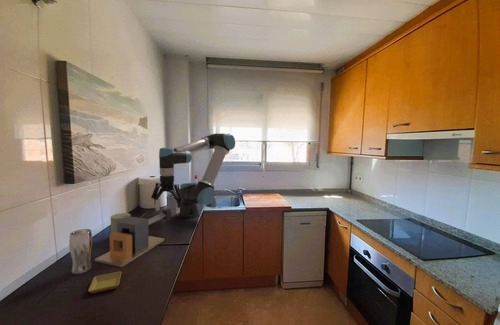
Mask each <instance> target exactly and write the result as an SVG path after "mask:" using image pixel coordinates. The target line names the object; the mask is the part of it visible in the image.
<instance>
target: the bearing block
mask: <svg viewBox="0 0 500 325" xmlns="http://www.w3.org/2000/svg"><path fill="white" fill-rule="evenodd" d="M148 219H149V218H143V217H136V216H130V217H129V218H126V219H124V220H121V221H119V222H117V232H119V233H125V234H131V235H132V255H131V256H129V257H127V258H124V257H120V256H115V255H110V250H109V251H108V252H106V253H104V254H102V255H99V256H98V257H96V258H94V261H95V262H97V263H100V264H105V265H110V266H114V267H118V268H122V267H124V266H126V265H128V264H129V263H131V262H132V261H134V260H135V259H137V258H139V257H140V256H143V255H144V254H145V253H148V252H149V251H150V250H151V249H153V248H155V247H156V246H158V245H159V244H161V243H163V242H164V241H165V238H162V237H157V236H152V235H149V225H148ZM119 248H123V241H119Z"/></svg>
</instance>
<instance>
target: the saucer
mask: <svg viewBox="0 0 500 325" xmlns="http://www.w3.org/2000/svg"><path fill="white" fill-rule="evenodd" d="M121 277H122V271H115V272H110V273H105V274H100V275H95V276H94V277H93V278H92V281H91V284H90V285H89V287H88V289H87V292H89V293H91V294H96V293H100V292H104V291H105V292H106V291H110V290H113V289H116V288H118V286H119V285H120V282H121Z"/></svg>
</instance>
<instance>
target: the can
mask: <svg viewBox="0 0 500 325" xmlns="http://www.w3.org/2000/svg"><path fill="white" fill-rule="evenodd" d="M129 217H132V216H131V213H128V212H121V213H119V212H118V213H115V214H112V215H111V216H110V217H109V218H110V234H112V233H114V232H117V222H119V221H121V220H124V219H126V218H129Z"/></svg>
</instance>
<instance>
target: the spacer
mask: <svg viewBox="0 0 500 325" xmlns="http://www.w3.org/2000/svg"><path fill="white" fill-rule="evenodd" d="M119 241H123V248H119ZM109 251H110V255H115V256H120V257H124V258H127V257H129V256H131V255H132V235H131V234H125V233H119V232H114V233H112V234H111V233H110V234H109Z"/></svg>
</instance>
